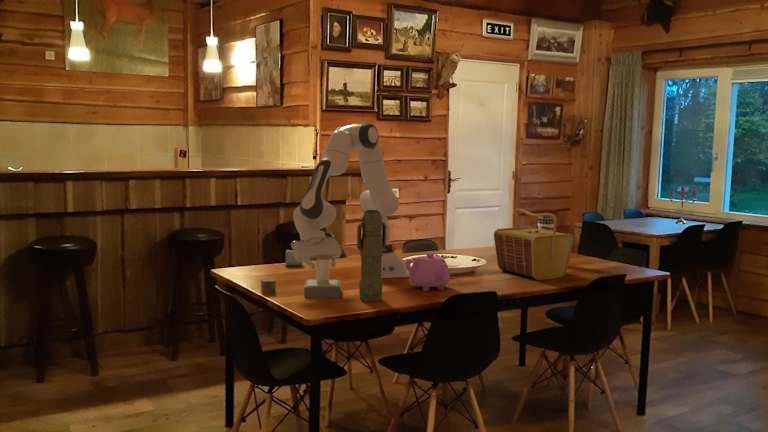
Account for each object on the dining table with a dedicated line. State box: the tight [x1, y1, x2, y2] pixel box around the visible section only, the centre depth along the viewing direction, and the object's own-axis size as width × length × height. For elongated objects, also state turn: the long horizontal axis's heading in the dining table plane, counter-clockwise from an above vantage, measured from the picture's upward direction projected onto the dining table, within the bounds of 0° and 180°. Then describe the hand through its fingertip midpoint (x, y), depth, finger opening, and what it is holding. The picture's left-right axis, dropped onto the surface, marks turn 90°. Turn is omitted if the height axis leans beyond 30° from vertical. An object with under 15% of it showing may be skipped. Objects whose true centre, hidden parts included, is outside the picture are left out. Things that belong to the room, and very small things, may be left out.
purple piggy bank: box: [405, 252, 451, 292], centre depth 303 cm, size 20×20×15 cm
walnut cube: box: [260, 278, 277, 295], centre depth 292 cm, size 5×5×5 cm
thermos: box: [356, 210, 386, 303], centre depth 281 cm, size 9×12×35 cm
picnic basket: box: [493, 208, 575, 281], centre depth 339 cm, size 29×26×30 cm
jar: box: [315, 255, 331, 284], centre depth 290 cm, size 5×5×11 cm
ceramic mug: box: [284, 249, 303, 267], centre depth 351 cm, size 11×8×8 cm
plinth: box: [303, 279, 341, 299], centre depth 291 cm, size 14×14×4 cm
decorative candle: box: [536, 215, 554, 231], centre depth 369 cm, size 9×9×25 cm
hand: (323, 267), depth 290 cm, fingers open, 8 cm apart
